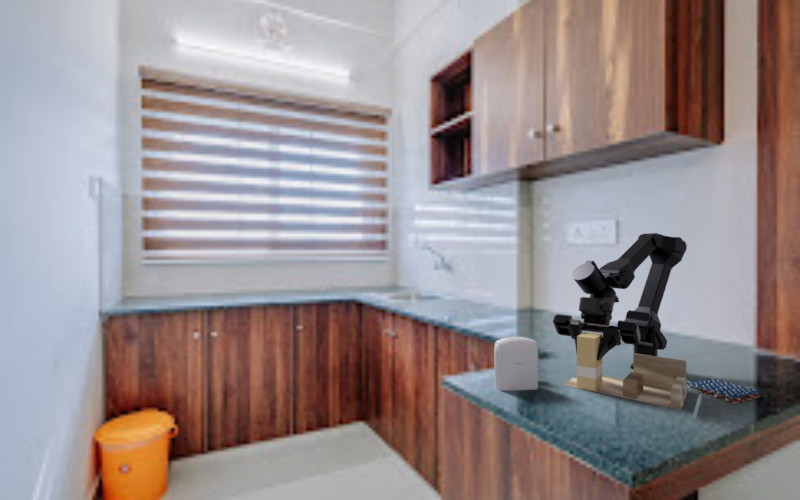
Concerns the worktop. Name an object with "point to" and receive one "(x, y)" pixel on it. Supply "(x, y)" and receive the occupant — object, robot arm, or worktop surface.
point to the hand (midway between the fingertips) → (587, 357)
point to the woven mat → (724, 390)
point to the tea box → (589, 361)
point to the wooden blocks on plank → (649, 382)
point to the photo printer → (516, 364)
